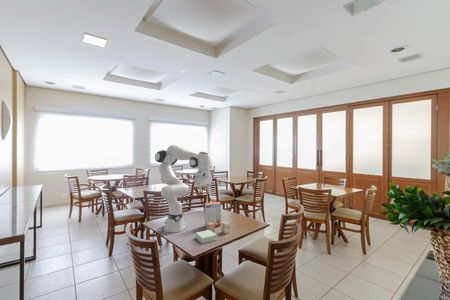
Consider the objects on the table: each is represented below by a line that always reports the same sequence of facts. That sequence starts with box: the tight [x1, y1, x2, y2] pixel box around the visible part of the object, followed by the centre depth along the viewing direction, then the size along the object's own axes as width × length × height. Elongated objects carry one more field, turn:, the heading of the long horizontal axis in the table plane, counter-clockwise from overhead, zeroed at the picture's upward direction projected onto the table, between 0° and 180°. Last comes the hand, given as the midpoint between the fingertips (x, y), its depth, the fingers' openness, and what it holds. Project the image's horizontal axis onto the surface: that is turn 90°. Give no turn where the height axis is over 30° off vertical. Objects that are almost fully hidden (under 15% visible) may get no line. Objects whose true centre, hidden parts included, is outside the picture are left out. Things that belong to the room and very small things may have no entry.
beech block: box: [221, 221, 231, 235], centre depth 181 cm, size 5×5×8 cm
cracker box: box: [204, 201, 222, 228], centre depth 196 cm, size 14×6×21 cm, turn 110°
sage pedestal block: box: [195, 229, 217, 244], centre depth 168 cm, size 12×12×4 cm
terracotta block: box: [206, 222, 216, 233], centre depth 182 cm, size 5×5×7 cm
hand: (204, 190), depth 168 cm, fingers open, 8 cm apart
